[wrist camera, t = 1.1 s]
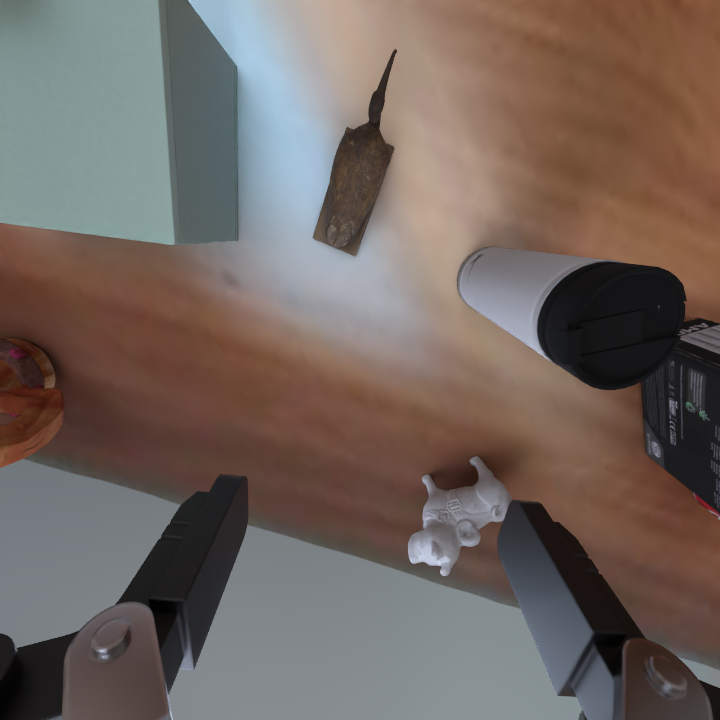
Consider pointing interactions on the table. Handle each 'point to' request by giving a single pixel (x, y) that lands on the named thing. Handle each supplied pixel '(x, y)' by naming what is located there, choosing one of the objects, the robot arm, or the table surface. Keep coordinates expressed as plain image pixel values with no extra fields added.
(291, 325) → the table surface
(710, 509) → the soda can
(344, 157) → the figurine
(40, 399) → the mug
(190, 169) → the chest
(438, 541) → the dog figurine
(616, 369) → the travel mug
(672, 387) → the graphics card box
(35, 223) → the lid
